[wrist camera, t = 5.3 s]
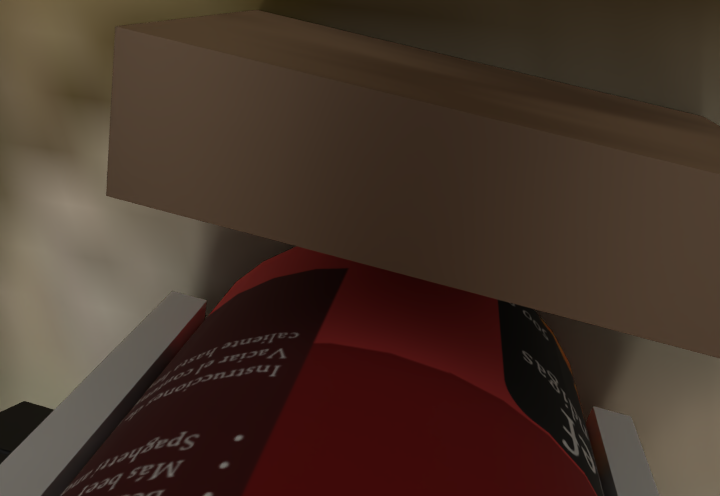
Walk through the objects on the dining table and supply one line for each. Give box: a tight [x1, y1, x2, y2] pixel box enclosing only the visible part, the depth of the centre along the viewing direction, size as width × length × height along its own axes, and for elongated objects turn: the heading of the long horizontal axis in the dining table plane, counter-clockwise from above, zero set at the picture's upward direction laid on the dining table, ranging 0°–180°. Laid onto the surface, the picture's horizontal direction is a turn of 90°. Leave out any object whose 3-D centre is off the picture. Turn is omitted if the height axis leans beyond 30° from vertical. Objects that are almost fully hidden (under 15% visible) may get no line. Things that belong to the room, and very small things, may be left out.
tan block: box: [106, 10, 720, 358], centre depth 12 cm, size 8×14×5 cm, turn 168°
